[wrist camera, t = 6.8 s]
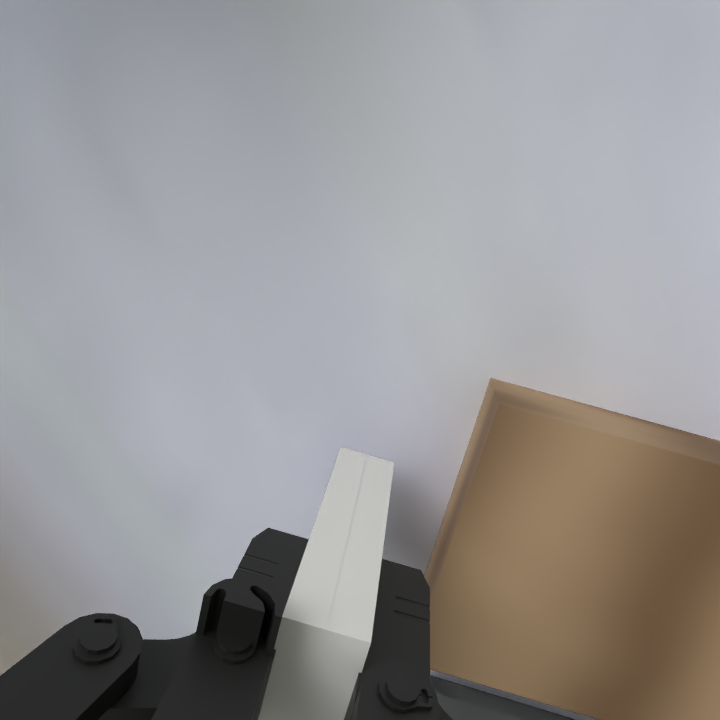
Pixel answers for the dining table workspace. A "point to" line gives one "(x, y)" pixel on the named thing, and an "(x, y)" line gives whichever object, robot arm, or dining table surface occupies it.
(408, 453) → the dining table surface
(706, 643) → the tan rounded-edge slab
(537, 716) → the tray
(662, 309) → the dining table surface
